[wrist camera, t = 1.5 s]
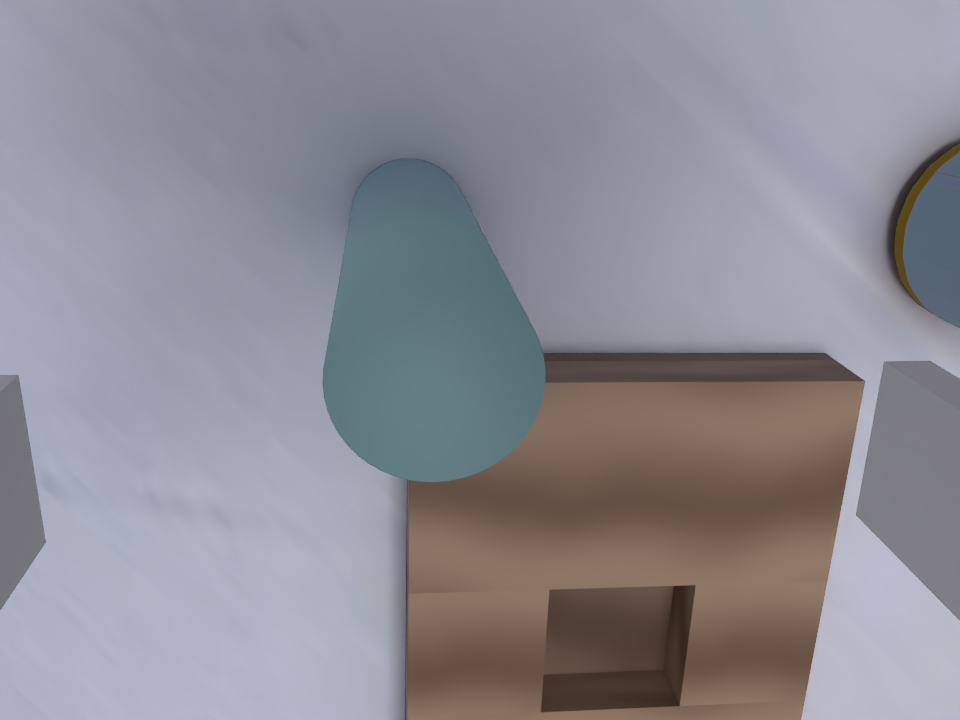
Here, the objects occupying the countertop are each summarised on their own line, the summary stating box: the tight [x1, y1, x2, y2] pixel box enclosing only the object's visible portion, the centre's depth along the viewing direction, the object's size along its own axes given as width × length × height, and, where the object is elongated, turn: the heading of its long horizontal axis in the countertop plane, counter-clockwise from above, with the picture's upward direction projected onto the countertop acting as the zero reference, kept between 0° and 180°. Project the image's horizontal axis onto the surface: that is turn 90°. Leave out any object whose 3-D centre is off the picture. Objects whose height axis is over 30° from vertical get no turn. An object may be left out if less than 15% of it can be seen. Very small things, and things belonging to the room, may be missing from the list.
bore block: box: [405, 353, 865, 720], centre depth 36 cm, size 22×16×3 cm
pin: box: [323, 159, 545, 482], centre depth 24 cm, size 4×4×16 cm
